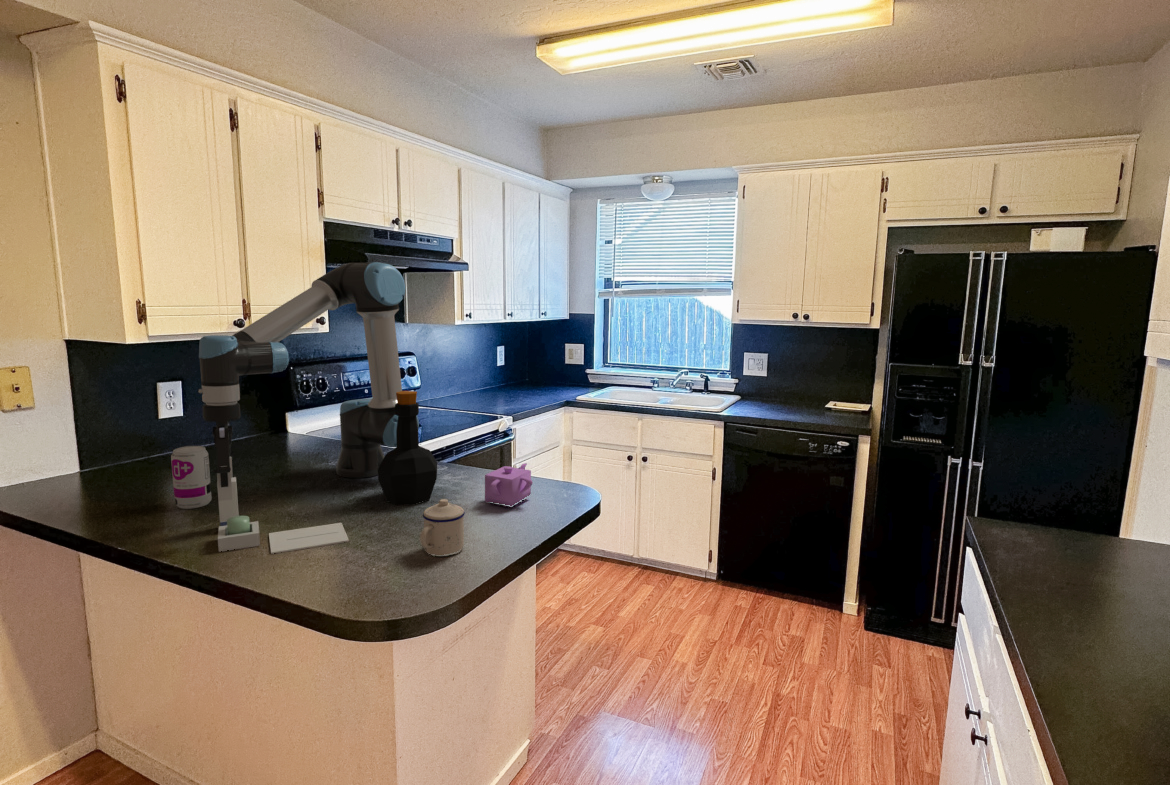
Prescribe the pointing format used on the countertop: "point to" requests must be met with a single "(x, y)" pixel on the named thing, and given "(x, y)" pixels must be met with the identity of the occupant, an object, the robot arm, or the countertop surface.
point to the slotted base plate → (307, 538)
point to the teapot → (508, 485)
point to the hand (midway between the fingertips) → (226, 491)
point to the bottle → (407, 458)
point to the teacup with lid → (443, 528)
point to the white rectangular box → (229, 505)
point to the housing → (238, 538)
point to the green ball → (238, 525)
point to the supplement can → (191, 477)
